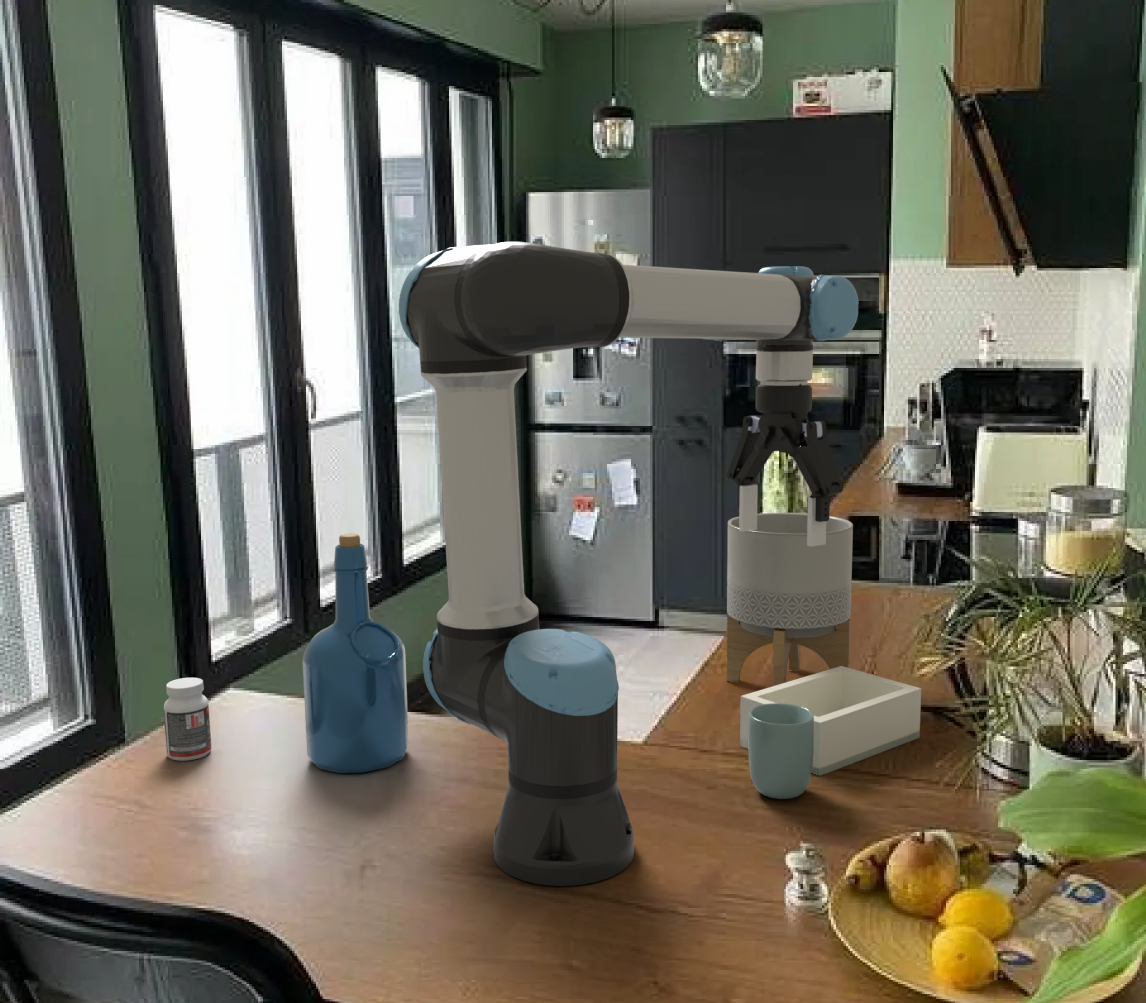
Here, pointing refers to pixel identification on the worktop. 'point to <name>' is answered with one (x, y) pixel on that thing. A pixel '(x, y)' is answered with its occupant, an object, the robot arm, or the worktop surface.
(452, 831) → the worktop surface
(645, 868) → the worktop surface
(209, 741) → the pill bottle
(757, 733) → the cup
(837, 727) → the open box
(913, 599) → the worktop surface
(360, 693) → the wine bottle
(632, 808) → the worktop surface
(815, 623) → the planter
